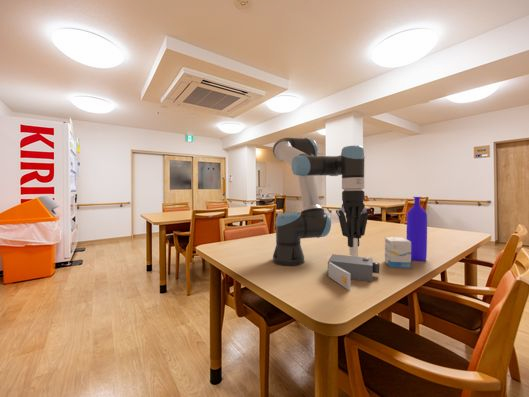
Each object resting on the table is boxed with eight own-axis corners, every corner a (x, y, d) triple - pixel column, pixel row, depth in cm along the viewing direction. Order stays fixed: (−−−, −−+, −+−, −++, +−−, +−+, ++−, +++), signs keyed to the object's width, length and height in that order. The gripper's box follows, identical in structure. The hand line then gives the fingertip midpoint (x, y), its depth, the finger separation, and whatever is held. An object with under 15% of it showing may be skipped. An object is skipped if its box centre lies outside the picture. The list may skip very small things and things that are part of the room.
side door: (326, 276, 94) (325, 261, 93) (329, 275, 94) (329, 261, 94) (346, 290, 80) (346, 273, 80) (350, 289, 81) (350, 273, 81)
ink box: (411, 268, 101) (412, 241, 101) (390, 267, 103) (390, 240, 102) (404, 262, 110) (404, 237, 109) (384, 261, 111) (384, 236, 111)
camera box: (328, 275, 94) (328, 258, 94) (332, 267, 104) (332, 252, 103) (379, 282, 87) (379, 264, 86) (379, 273, 96) (379, 256, 95)
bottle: (427, 262, 108) (428, 197, 107) (406, 259, 113) (406, 197, 111) (426, 257, 115) (427, 196, 114) (406, 255, 120) (407, 196, 118)
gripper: (343, 190, 79) (343, 260, 80) (375, 189, 82) (376, 256, 83) (331, 190, 86) (331, 254, 87) (361, 189, 90) (362, 251, 90)
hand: (353, 255), depth 85 cm, fingers closed
